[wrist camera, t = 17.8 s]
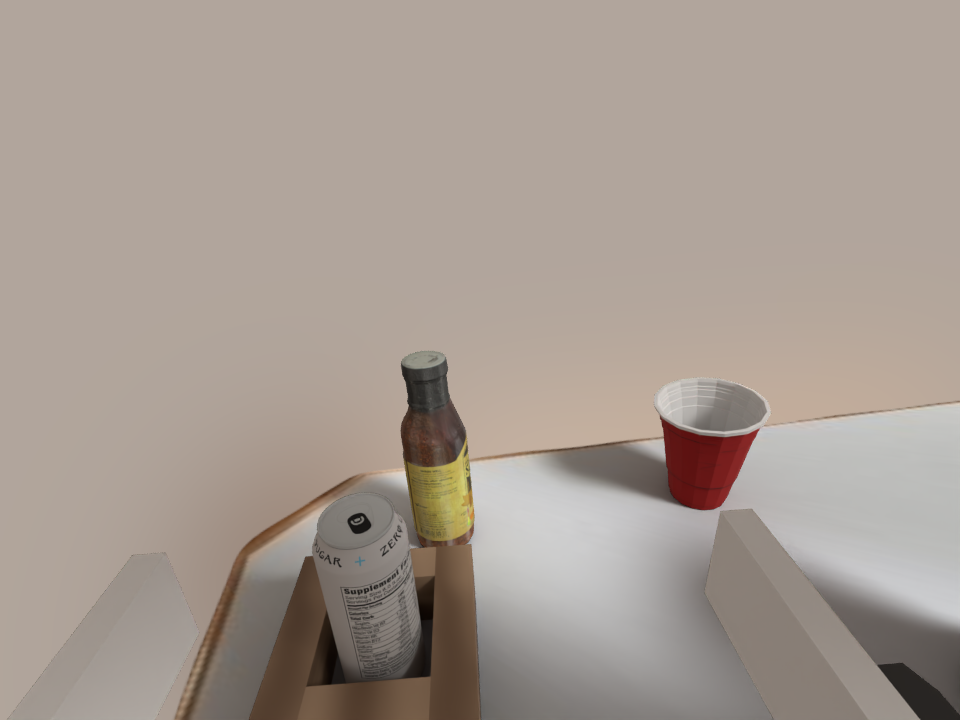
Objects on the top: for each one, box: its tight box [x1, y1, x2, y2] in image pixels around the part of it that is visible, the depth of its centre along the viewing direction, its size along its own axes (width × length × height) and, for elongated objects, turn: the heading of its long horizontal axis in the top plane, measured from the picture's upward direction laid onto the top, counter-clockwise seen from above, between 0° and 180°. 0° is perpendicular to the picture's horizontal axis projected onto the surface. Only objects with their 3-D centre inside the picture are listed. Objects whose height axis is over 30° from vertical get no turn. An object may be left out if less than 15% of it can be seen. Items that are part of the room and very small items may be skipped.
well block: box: [249, 544, 481, 720], centre depth 37 cm, size 14×14×6 cm
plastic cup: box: [654, 378, 771, 510], centre depth 52 cm, size 11×11×12 cm
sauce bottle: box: [401, 351, 474, 548], centre depth 47 cm, size 6×6×20 cm
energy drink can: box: [312, 492, 425, 683], centre depth 34 cm, size 6×6×15 cm
